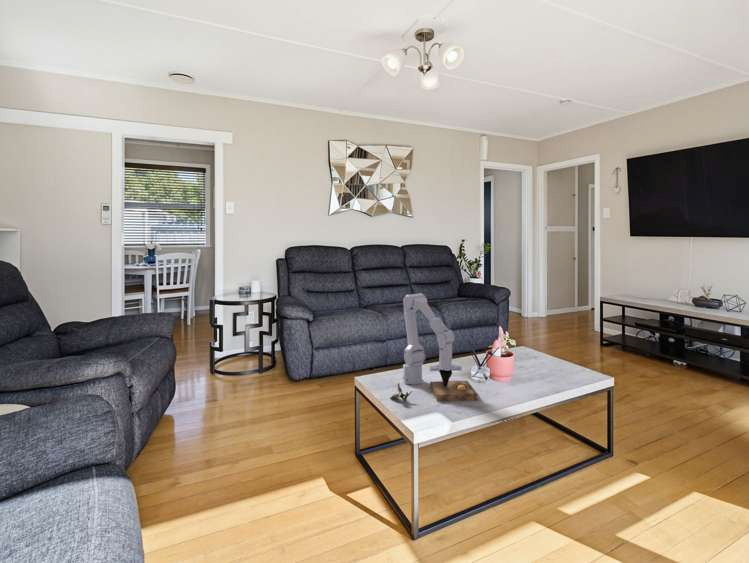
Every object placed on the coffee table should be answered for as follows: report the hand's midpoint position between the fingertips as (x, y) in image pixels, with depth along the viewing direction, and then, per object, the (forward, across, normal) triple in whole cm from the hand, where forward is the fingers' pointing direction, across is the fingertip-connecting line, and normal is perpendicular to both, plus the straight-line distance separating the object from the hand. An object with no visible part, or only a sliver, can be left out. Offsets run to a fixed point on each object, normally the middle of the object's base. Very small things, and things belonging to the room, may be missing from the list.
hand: (445, 385), depth 185 cm
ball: (+2, +8, 0) cm, 8 cm away
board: (+4, +4, 0) cm, 5 cm away
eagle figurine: (+4, -22, -5) cm, 22 cm away
